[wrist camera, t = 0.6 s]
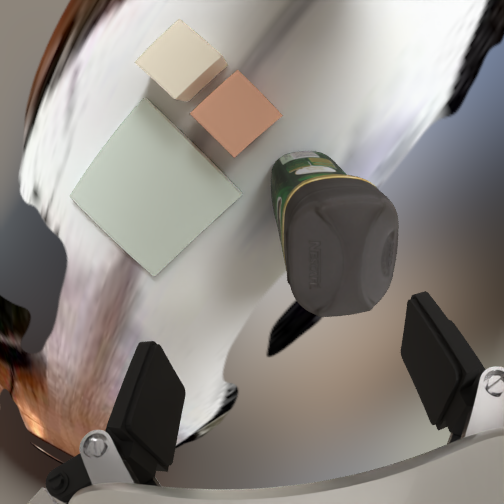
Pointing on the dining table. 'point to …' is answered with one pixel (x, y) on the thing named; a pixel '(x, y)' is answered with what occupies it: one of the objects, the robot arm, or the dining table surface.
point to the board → (153, 188)
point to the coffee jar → (333, 234)
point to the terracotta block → (236, 113)
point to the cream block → (181, 61)
